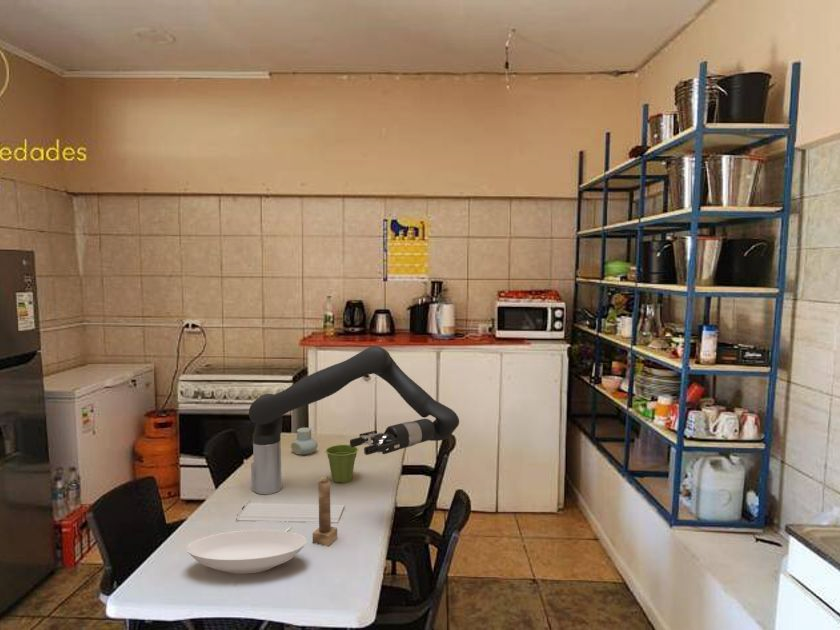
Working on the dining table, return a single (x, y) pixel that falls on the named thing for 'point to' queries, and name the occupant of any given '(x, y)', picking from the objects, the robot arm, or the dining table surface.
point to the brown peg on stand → (324, 516)
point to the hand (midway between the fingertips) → (357, 447)
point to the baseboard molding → (287, 512)
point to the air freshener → (304, 442)
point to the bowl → (246, 550)
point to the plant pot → (341, 462)
